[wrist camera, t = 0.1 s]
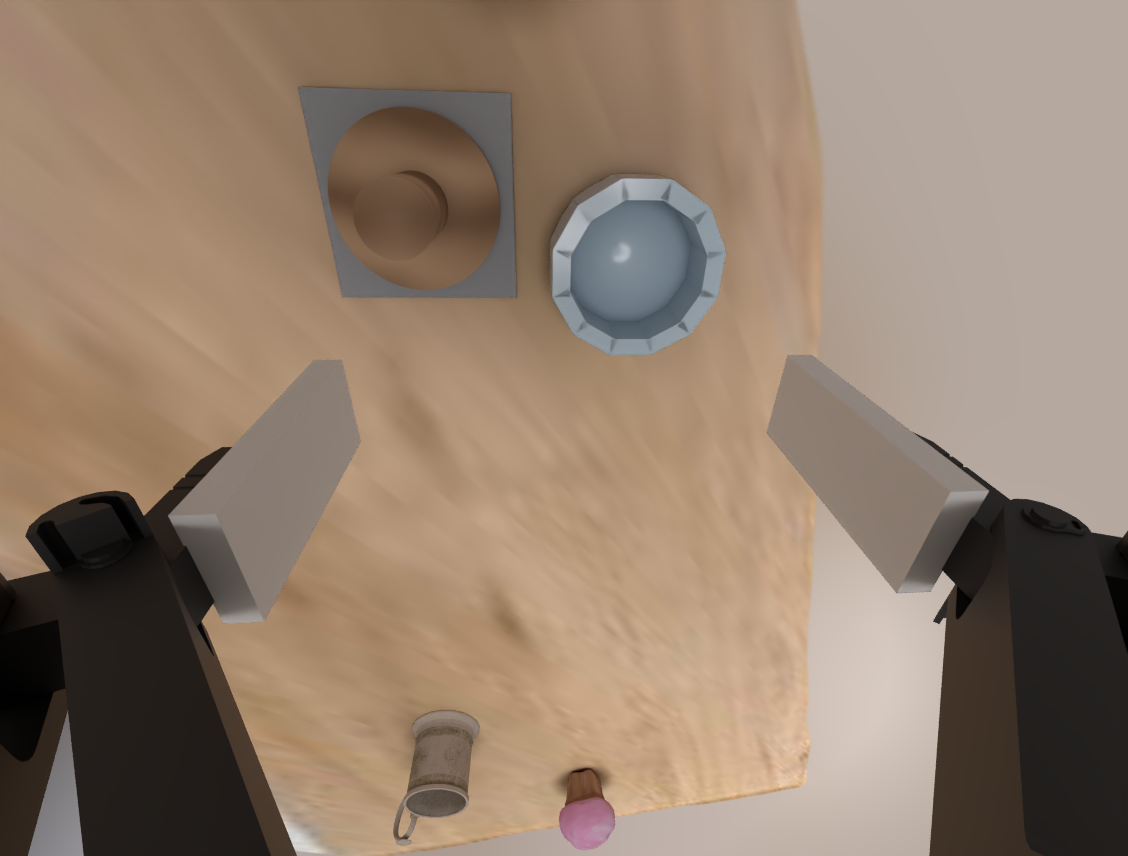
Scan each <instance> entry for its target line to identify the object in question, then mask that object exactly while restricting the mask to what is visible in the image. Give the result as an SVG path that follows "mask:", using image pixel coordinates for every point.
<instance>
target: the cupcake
mask: <svg viewBox="0 0 1128 856" xmlns="http://www.w3.org/2000/svg"><path fill="white" fill-rule="evenodd" d="M559 822H560V829H561V832H562V834H563V835H564V837H565V838H566V839H567V840H568V841H570V842H571V843H572V845H573V846H574V847H575V848H577V849H580V850H589V849H594V848H597V847H599V846H600V845H601V844H603V843H604V842H605V841H606V840H607V839H608V837H609V835H610V834H611V832H612V831H613V830H614V826H615V816H614V809H613V808H612V806H611V805H610V804H609V803H608V802H607V801H606V800H605V798H604V796H603V793H602V788H601V783H600V779H599V777H598V776H597V775H596V774H595V773H593V772H592V770H590V769H589V770H585V771H583V772H574V773H572V774H571V775H570V777H569V782H568V791H567V799H566V803H565V807H564V808H563V809H562V810H561V812H560V816H559Z"/></svg>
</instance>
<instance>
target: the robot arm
mask: <svg viewBox="0 0 1128 856" xmlns="http://www.w3.org/2000/svg"><path fill="white" fill-rule="evenodd" d="M767 434H768V435H769V437H770V438H771V439H772V440H773V442H774V443H775V444H776V445H777V446H778V448H779V449H780V450H781V451H782V453H783V454H784V455H785V456H786V458H787V459H788V460H789V461H790V462H791V464H792V465H793V466H794V467H795V469H796V470H797V471H798V472H799V474H800V475H801V476H802V477H803V478H804V480H805V481H806V482H807V483H808V485H809V486H810V487H811V488H812V490H813V491H814V492H815V493H816V494H817V496H818V497H819V498H820V499H821V501H822V502H823V503H824V504H825V506H826V507H827V508H828V509H829V510H830V512H831V513H832V514H833V515H834V517H835V518H836V519H837V520H838V521H839V523H840V524H841V525H842V526H843V528H844V529H845V530H846V531H847V533H848V534H849V535H850V536H851V538H852V539H853V540H854V541H855V542H856V544H857V545H858V546H859V547H860V549H861V550H862V551H863V552H864V554H865V555H866V556H867V557H868V558H869V560H870V561H871V562H872V563H873V565H874V566H875V567H876V568H877V570H878V571H879V572H880V573H881V574H882V576H883V577H884V578H885V579H886V581H887V582H888V583H889V584H890V586H891V587H892V588H893V589H894V590H895V592H896V593H914V592H931V590H932V588H933V587H934V585H935V583H936V581H937V580H938V578H939V576H940V574H941V573H942V571H944V573H946V575H947V576H948V577H949V578H950V579H951V580H952V581H953V582H954V583H955V586H954V588H953V589H952V591H951V593H950V594H949V596H948V597H947V599H946V601H945V602H944V604H943V605H942V607H941V609H940V610H939V612H938V614H937V615H936V617H935V619H934V621H933V622H936V623H938V624H940V622H941V621H942V619H943V618H946V631H945V645H944V659H943V675H942V687H941V701H940V715H939V716H940V717H939V731H938V743H937V759H936V772H935V785H934V786H935V787H934V799H933V815H932V829H931V841H930V855H929V856H1128V531H1127V533H1126V534H1125V535H1124V537H1123V538H1121V537H1115V536H1110V535H1104V534H1098V533H1092V532H1091V531H1090V530H1089V528H1088V527H1087V526H1086V525H1085V524H1083V523H1082V522H1081V521H1080V520H1078V519H1077V518H1076V517H1074V516H1072V515H1070V514H1068V513H1066V512H1065V511H1062V510H1061V509H1058V508H1056V507H1053V506H1050V505H1047V504H1045V503H1042V502H1037V501H1033V500H1028V499H1013V500H1010V499H1008V498H1007V497H1006V496H1004V495H1003V494H1002V493H1000V492H999V491H998V490H996V489H995V488H994V487H992V486H991V485H990V484H988V483H987V482H986V481H984V480H983V479H982V478H981V477H979V476H978V475H977V474H975V473H974V472H973V471H971V470H970V469H969V468H967V467H963V464H962V463H961V462H959V461H958V460H957V459H955V458H954V457H950V456H949V455H950V454H948V453H947V452H946V451H945V450H943V449H942V448H941V447H939V446H938V445H936V444H935V443H934V442H932V441H930V440H928V439H926V438H924V437H922V436H920V435H918V434H916V433H914V432H912V431H910V430H909V429H908V428H906V427H905V426H904V425H903V424H901V423H900V422H899V421H897V420H896V419H895V418H893V417H892V416H891V415H890V414H888V413H887V412H886V411H884V410H883V409H882V408H880V407H879V406H878V405H876V404H875V403H874V402H873V401H871V400H870V399H869V398H867V397H866V396H865V395H863V394H862V393H861V392H859V391H858V390H857V389H856V388H854V387H853V386H852V385H850V384H849V383H847V382H846V381H845V380H844V379H842V378H841V377H840V376H839V375H837V374H836V373H835V372H833V371H832V370H831V369H829V368H828V367H827V366H825V365H824V364H823V363H822V362H820V361H819V360H818V359H816V358H815V357H814V356H812V355H787V359H786V363H785V367H784V370H783V374H782V378H781V381H780V385H779V389H778V393H777V396H776V400H775V404H774V407H773V411H772V415H771V419H770V422H769V426H768V430H767ZM360 442H361V440H360V436H359V432H358V427H357V423H356V419H355V414H354V410H353V406H352V401H351V397H350V393H349V388H348V384H347V380H346V375H345V371H344V367H343V362H342V360H314V361H313V362H312V363H311V364H310V365H309V366H308V367H307V368H306V369H305V370H304V371H303V372H302V374H301V375H300V376H299V377H298V378H297V379H296V380H295V381H294V382H293V383H292V384H291V385H290V386H289V387H288V388H287V390H286V391H285V392H284V393H283V394H282V395H281V396H280V397H279V398H278V399H277V400H276V401H275V402H274V403H273V404H272V405H271V407H270V408H269V409H268V410H267V411H266V412H265V413H264V414H263V415H262V416H261V417H260V418H259V419H258V420H257V421H256V423H255V424H254V425H253V426H252V427H251V428H250V429H249V430H248V431H247V432H246V433H245V434H244V435H243V436H242V437H241V438H240V440H239V441H238V442H237V443H236V444H235V445H234V446H233V447H222V448H220V449H218V450H217V451H215V452H213V453H211V454H210V455H208V456H206V457H205V458H203V459H201V460H200V461H199V462H198V463H197V464H196V465H195V466H194V467H193V468H192V469H191V470H190V471H189V472H188V473H187V474H186V475H185V478H182V479H181V480H180V481H179V482H178V483H177V484H176V485H175V486H174V487H173V490H170V491H169V492H168V493H167V494H166V495H165V496H164V497H163V498H162V499H161V500H160V501H159V502H158V503H157V504H156V505H155V506H154V507H153V508H152V509H151V510H150V511H149V512H148V513H147V514H146V515H145V516H143V514H142V512H141V510H140V508H139V507H138V505H137V503H136V501H135V499H134V498H133V497H132V496H131V495H130V494H129V493H126V492H120V491H106V492H97V493H93V494H89V495H85V496H81V497H78V498H75V499H73V500H70V501H68V502H65V503H63V504H60V505H58V506H56V507H55V508H53V509H51V510H50V511H48V512H46V513H44V514H43V515H41V516H40V517H39V518H38V519H37V520H36V521H35V522H33V523H32V524H31V525H30V526H29V528H28V531H27V533H26V538H27V539H28V540H29V542H30V543H31V545H32V546H33V547H34V549H35V550H36V551H37V553H38V554H39V556H40V557H41V558H42V560H43V561H44V562H45V564H46V565H47V566H48V568H49V569H50V571H48V572H44V573H39V574H35V575H31V576H26V577H22V578H18V579H13V580H9V581H7V580H6V579H5V578H4V576H3V575H2V574H1V573H0V856H28V853H29V849H30V845H31V842H32V838H33V835H34V831H35V827H36V824H37V820H38V816H39V813H40V809H41V805H42V802H43V798H44V794H45V791H46V787H47V784H48V780H49V776H50V772H51V769H52V765H53V762H54V758H55V754H56V751H57V747H58V744H59V740H60V736H61V733H62V729H63V725H64V722H65V718H66V714H67V711H68V714H69V723H70V732H71V742H72V751H73V759H74V769H75V779H76V787H77V797H78V806H79V816H80V825H81V834H82V843H83V853H84V856H297V855H296V852H295V850H294V847H293V845H292V842H291V840H290V837H289V835H288V832H287V830H286V827H285V825H284V822H283V820H282V817H281V815H280V812H279V810H278V807H277V805H276V802H275V800H274V797H273V795H272V792H271V790H270V787H269V785H268V782H267V780H266V777H265V775H264V772H263V770H262V767H261V765H260V762H259V760H258V757H257V755H256V752H255V750H254V747H253V745H252V742H251V740H250V737H249V735H248V732H247V730H246V727H245V725H244V722H243V720H242V717H241V715H240V712H239V710H238V707H237V705H236V702H235V700H234V697H233V695H232V692H231V690H230V687H229V685H228V682H227V680H226V677H225V675H224V672H223V670H222V667H221V665H220V662H219V660H218V657H217V655H216V652H215V650H214V647H213V645H212V642H211V640H210V637H209V635H208V632H207V630H206V629H205V627H204V625H203V623H202V619H203V618H204V616H205V615H206V613H207V612H208V610H209V609H210V607H211V606H212V604H214V606H215V608H216V610H217V612H218V614H219V615H220V617H221V619H222V621H223V623H244V622H264V621H265V619H266V617H267V615H268V613H269V612H270V610H271V608H272V606H273V604H274V602H275V600H276V599H277V597H278V595H279V593H280V591H281V589H282V587H283V586H284V584H285V582H286V580H287V578H288V576H289V574H290V572H291V571H292V569H293V567H294V565H295V563H296V561H297V559H298V558H299V556H300V554H301V552H302V550H303V548H304V546H305V545H306V543H307V541H308V539H309V537H310V535H311V533H312V532H313V530H314V528H315V526H316V524H317V522H318V520H319V518H320V517H321V515H322V513H323V511H324V509H325V507H326V505H327V504H328V502H329V500H330V498H331V496H332V494H333V492H334V491H335V489H336V487H337V485H338V483H339V481H340V479H341V477H342V476H343V474H344V472H345V470H346V468H347V466H348V464H349V463H350V461H351V459H352V457H353V455H354V453H355V451H356V450H357V448H358V446H359V444H360Z"/></svg>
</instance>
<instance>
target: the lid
mask: <svg viewBox="0 0 1128 856" xmlns="http://www.w3.org/2000/svg"><path fill="white" fill-rule="evenodd" d="M328 197H329V204H330V209H331V212H332V216H333V219H334V221H335V224H336V226H337V229H338V231H339V233H340V235H341V236H342V238H343V240H344V242H345V243H346V245H347V246H348V247H349V249H350V250H351V251H352V253H353V254H354V255H355V256H356V257H357V258H358V259H359V260H360V261H361V262H362V263H363V264H364V265H365V266H366V267H367V268H369V269H370V270H371V271H372V272H374V273H375V274H377V275H378V276H380V277H382V278H383V279H385V280H387V281H389V282H392V283H394V284H396V285H399V286H403V287H406V288H411V289H418V290H435V289H441V288H446V287H449V286H451V285H454V284H457V283H459V282H460V281H462V280H464V279H466V278H467V277H468V276H470V275H471V274H473V273H474V272H475V271H476V270H477V269H478V268H479V267H480V266H481V264H482V263H483V262H484V261H485V259H486V258H487V256H488V254H489V253H490V251H491V249H492V246H493V244H494V242H495V238H496V235H497V231H498V228H499V221H500V196H499V190H498V186H497V182H496V179H495V176H494V173H493V170H492V168H491V166H490V164H489V162H488V160H487V158H486V157H485V155H484V154H483V152H482V150H481V149H480V148H479V146H478V145H477V144H476V143H475V142H474V140H473V139H472V138H471V137H470V136H469V135H468V134H467V133H466V132H465V131H464V130H462V129H461V128H460V127H458V126H457V125H456V124H454V123H453V122H451V121H449V120H448V119H446V118H444V117H442V116H440V115H437V114H435V113H433V112H429V111H425V110H421V109H417V108H410V107H391V108H386V109H381V110H378V111H375V112H373V113H370V114H368V115H366V116H365V117H363V118H361V119H360V120H358V121H357V122H356V123H355V124H353V125H352V126H351V127H350V128H349V129H348V130H347V132H346V133H345V134H344V135H343V136H342V138H341V140H340V141H339V143H338V145H337V146H336V149H335V151H334V153H333V156H332V159H331V163H330V167H329V173H328Z"/></svg>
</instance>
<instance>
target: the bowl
mask: <svg viewBox="0 0 1128 856" xmlns="http://www.w3.org/2000/svg"><path fill="white" fill-rule="evenodd" d="M725 254H726V250H725V247H724V244H723V241H722V239H721V236H720V233H719V230H718V227H717V225H716V222H715V219H714V216H713V213H712V210H711V208H710V207H709V206H708V205H707V204H705V203H704V202H703V201H701V200H700V199H698V198H697V197H696V196H694V195H693V194H692V193H690V192H689V191H688V190H686V189H685V188H683V187H682V186H681V185H679V184H678V183H677V182H675V181H674V180H673V179H669V178H666V177H663V176H660V175H643V174H612V175H610V176H609V177H607V178H605V179H603V180H600V181H599V182H597V183H595V184H593V185H591V186H590V187H588V188H587V189H585V190H584V191H583V192H581V193H580V194H579V195H577V196H576V197H574V198H573V199H572V201H571V202H570V204H569V206H568V207H567V208H566V210H565V211H564V213H563V215H562V216H561V218H560V220H559V222H558V224H557V226H556V229H555V231H554V233H553V235H552V237H551V238H550V286H551V292H552V298H553V299H554V301H555V303H556V305H557V306H558V308H559V310H560V312H561V313H562V315H563V317H564V319H565V320H566V322H567V324H568V326H569V327H570V329H571V331H572V333H573V334H574V335H575V336H577V337H578V338H580V339H582V340H584V341H586V342H587V343H589V344H591V345H593V346H595V347H596V348H598V349H600V350H602V351H603V352H605V353H607V354H610V355H651V354H653V353H655V352H657V351H659V350H661V349H663V348H665V347H667V346H669V345H671V344H672V343H674V342H676V341H678V340H680V339H682V338H684V337H686V336H688V335H690V334H691V332H692V331H693V330H694V328H695V327H696V326H697V324H698V323H699V322H700V320H701V319H702V318H703V316H704V315H705V314H706V312H707V311H708V310H709V308H710V307H711V306H712V304H713V303H714V302H715V300H716V299H717V297H718V293H719V287H720V282H721V276H722V271H723V265H724V260H725Z"/></svg>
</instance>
